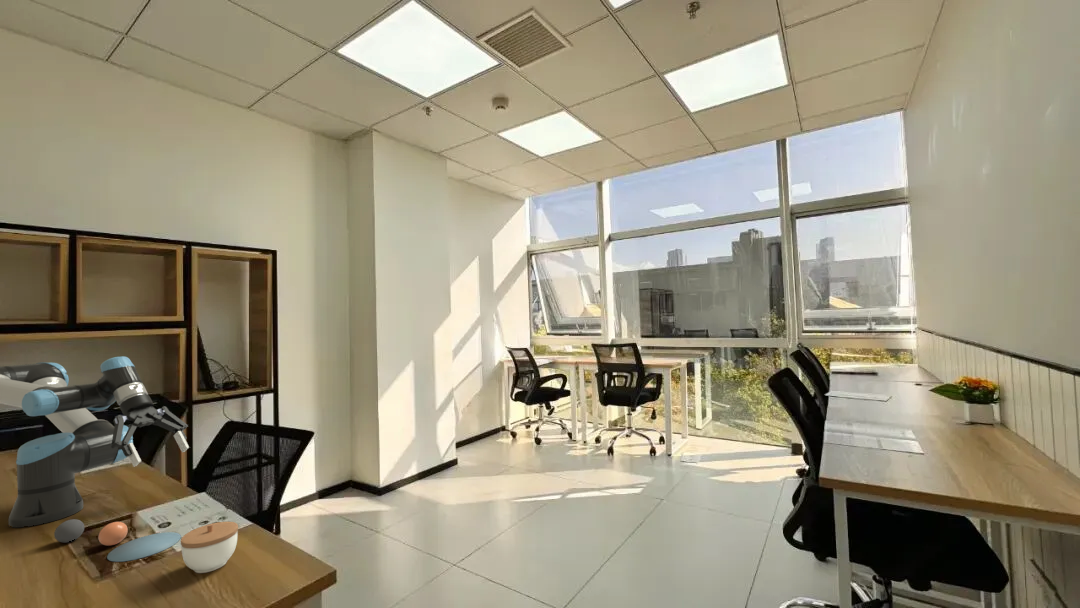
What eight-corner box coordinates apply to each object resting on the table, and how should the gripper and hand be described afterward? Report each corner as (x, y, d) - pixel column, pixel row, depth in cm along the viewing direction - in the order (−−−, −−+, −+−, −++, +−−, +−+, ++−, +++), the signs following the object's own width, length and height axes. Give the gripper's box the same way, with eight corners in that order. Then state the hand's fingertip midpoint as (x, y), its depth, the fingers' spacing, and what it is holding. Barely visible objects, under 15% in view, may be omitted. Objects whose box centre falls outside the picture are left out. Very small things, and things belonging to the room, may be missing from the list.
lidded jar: (201, 555, 109) (200, 516, 109) (248, 551, 110) (247, 512, 110) (169, 581, 98) (168, 538, 99) (221, 577, 99) (220, 534, 99)
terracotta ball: (93, 548, 114) (92, 526, 114) (118, 537, 120) (118, 517, 120) (107, 551, 113) (107, 529, 113) (133, 540, 118) (132, 519, 118)
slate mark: (92, 557, 110) (92, 556, 110) (156, 530, 123) (156, 529, 123) (132, 565, 106) (132, 564, 106) (193, 536, 119) (193, 535, 119)
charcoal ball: (49, 545, 117) (48, 524, 117) (76, 535, 122) (75, 514, 122) (62, 547, 115) (62, 526, 115) (89, 537, 120) (89, 516, 121)
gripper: (91, 401, 131) (121, 463, 127) (181, 386, 155) (209, 438, 151) (78, 415, 133) (107, 477, 129) (169, 399, 157) (196, 450, 153)
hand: (162, 456), depth 140 cm, fingers open, 13 cm apart
